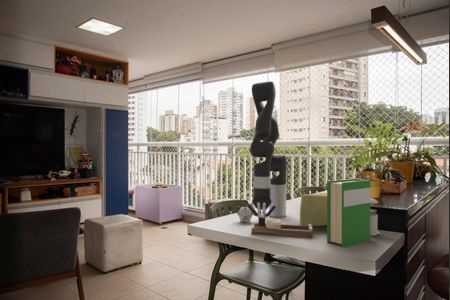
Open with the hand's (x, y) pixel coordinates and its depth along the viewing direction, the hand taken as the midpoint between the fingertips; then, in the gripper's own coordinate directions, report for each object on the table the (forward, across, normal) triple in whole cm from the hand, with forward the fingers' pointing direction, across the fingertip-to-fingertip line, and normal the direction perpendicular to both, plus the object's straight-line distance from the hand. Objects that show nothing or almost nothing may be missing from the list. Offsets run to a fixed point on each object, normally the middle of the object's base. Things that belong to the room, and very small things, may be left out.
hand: (261, 225), depth 139 cm
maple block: (+1, -5, 0) cm, 5 cm away
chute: (+2, -9, 0) cm, 9 cm away
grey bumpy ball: (+3, +10, -17) cm, 20 cm away
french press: (+3, -45, -10) cm, 46 cm away
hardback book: (+3, -35, +7) cm, 36 cm away
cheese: (+3, -26, -20) cm, 33 cm away
